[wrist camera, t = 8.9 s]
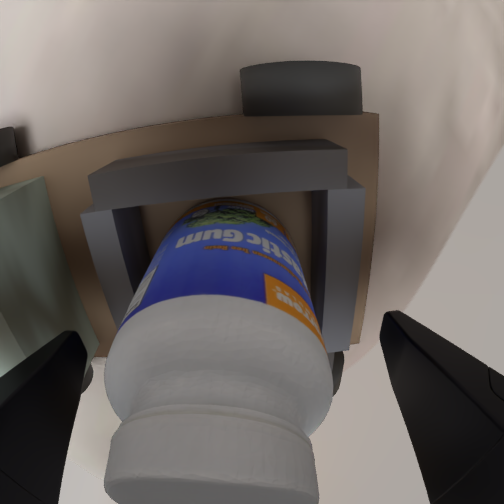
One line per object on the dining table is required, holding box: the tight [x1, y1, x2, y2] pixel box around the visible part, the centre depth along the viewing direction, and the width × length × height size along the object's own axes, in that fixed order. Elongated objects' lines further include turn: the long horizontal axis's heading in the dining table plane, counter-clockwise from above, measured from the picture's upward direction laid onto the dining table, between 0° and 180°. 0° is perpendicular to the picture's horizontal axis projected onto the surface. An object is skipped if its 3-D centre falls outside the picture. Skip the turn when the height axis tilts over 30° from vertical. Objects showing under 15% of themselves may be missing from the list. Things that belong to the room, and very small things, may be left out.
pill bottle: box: [104, 199, 333, 504], centre depth 8 cm, size 5×5×10 cm
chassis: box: [0, 61, 379, 396], centre depth 11 cm, size 14×20×6 cm
